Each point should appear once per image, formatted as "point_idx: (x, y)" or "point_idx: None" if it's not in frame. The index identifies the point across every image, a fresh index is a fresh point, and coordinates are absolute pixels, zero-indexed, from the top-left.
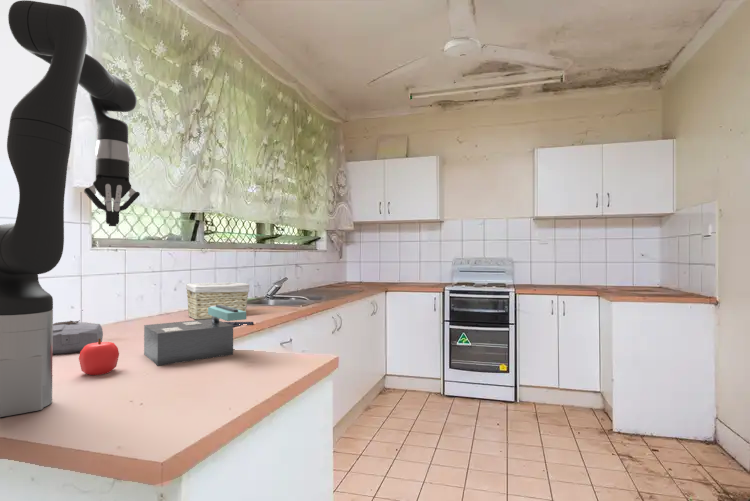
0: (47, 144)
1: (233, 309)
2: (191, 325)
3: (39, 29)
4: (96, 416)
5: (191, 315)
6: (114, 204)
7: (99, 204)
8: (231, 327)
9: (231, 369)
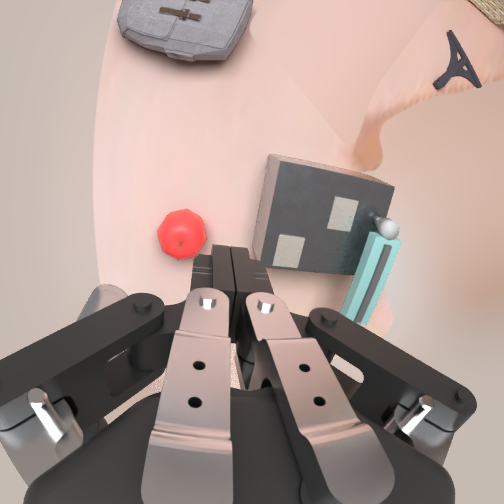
0: None
1: (359, 317)
2: (332, 229)
3: None
4: None
5: None
6: (241, 382)
7: (132, 371)
8: None
9: (302, 314)
